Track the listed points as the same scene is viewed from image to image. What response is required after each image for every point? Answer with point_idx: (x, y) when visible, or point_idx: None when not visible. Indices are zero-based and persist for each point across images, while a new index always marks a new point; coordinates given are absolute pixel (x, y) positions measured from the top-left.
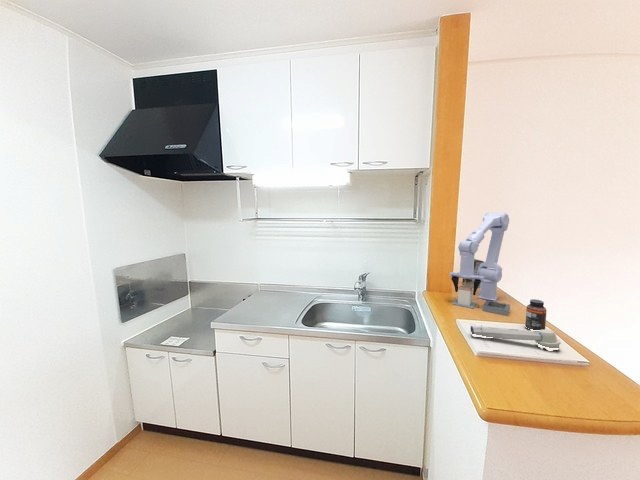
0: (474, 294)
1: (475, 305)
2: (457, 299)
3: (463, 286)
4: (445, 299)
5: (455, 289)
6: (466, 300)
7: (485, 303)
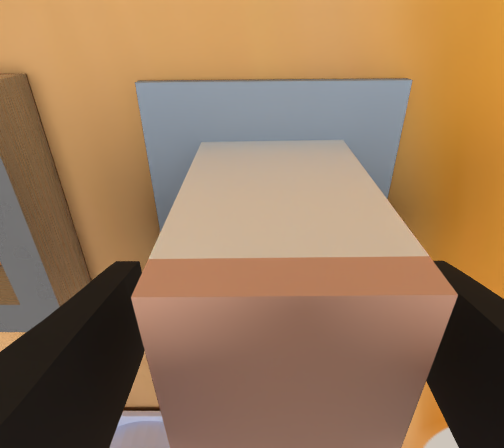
0: (108, 268)
1: (160, 218)
2: None
3: (339, 414)
4: (487, 223)
5: (478, 285)
6: (235, 162)
7: (6, 209)
